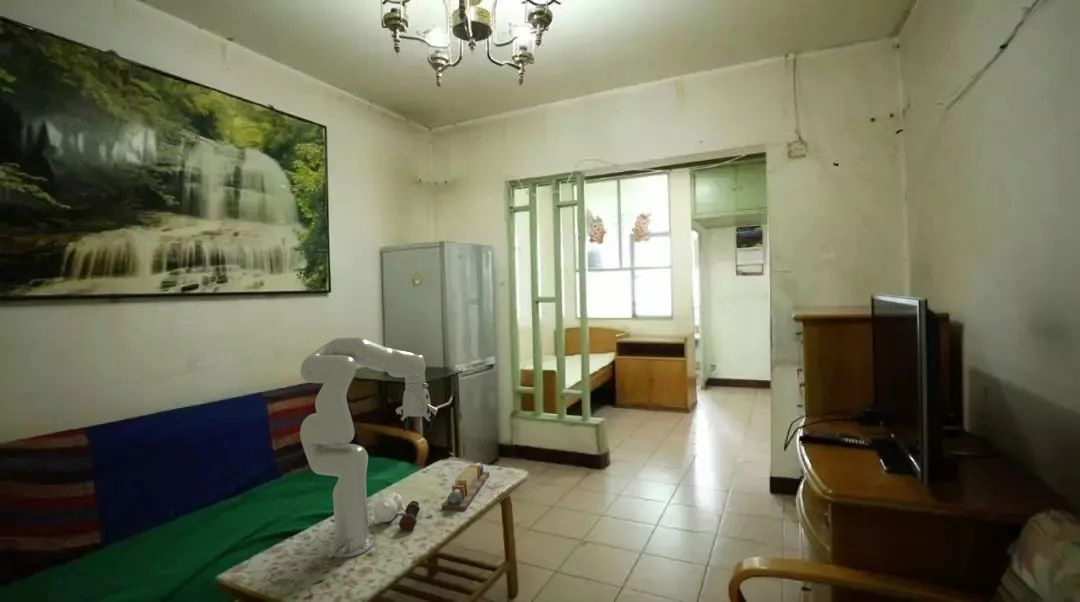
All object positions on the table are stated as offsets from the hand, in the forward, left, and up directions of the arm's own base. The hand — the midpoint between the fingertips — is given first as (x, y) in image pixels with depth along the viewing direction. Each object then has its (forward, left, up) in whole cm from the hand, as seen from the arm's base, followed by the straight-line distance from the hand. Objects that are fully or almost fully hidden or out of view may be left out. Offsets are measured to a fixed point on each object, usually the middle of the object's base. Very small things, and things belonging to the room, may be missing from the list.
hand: (417, 430), depth 176 cm
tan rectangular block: (+2, -19, -23) cm, 29 cm away
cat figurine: (-21, +1, -25) cm, 32 cm away
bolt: (-21, -6, -25) cm, 33 cm away
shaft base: (+2, -19, -24) cm, 31 cm away
